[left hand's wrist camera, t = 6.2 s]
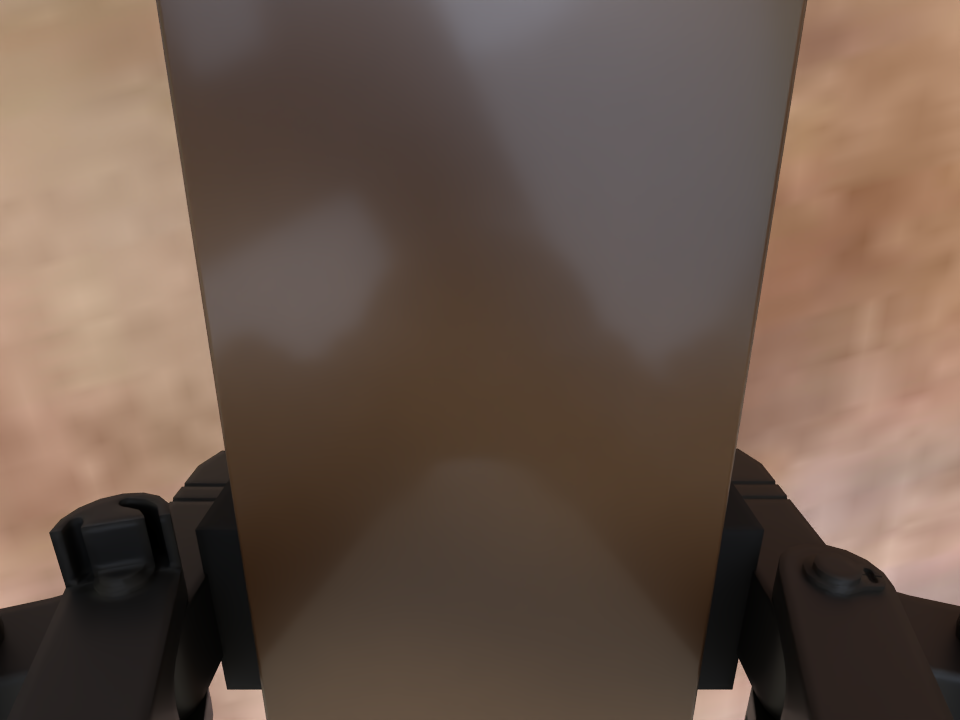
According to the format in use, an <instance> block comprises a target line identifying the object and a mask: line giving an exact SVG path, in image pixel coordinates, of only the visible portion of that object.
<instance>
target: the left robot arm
mask: <svg viewBox="0 0 960 720" xmlns="http://www.w3.org/2000/svg"><path fill="white" fill-rule="evenodd" d="M49 533H50V537H51V540H52V543H53V546H54V550H55V553H56V556H57V560H58V563H59V566H60V569H61V573H62V576H63V579H64V582H65V586H66V589H65V591H64V593H63V595H60V596H57V597H53V598H49V599H45V600H40V601H35V602H31V603H26V604H21V605H17V606H12V607H7V608H3V609H0V720H213V709H212V702H211V697H210V693H209V685H210V683H211V681H212V679H213V677H214V675H215V673H216V671H217V668H218V666H219V664H220V662H221V661H222V666H223V671H224V676H225V681H226V686H227V689H262V687H261V680H260V674H259V667H258V661H257V654H256V648H255V641H254V635H253V628H252V622H251V615H250V609H249V602H248V596H247V589H246V583H245V576H244V570H243V563H242V557H241V550H240V544H239V537H238V531H237V524H236V518H235V511H234V504H233V498H232V491H231V485H230V478H229V472H228V465H227V459H226V452H225V451H221V452H219V453H218V454H216V455H214V456H213V457H211V458H210V459H208V460H207V461H205V462H204V463H202V464H201V465H199V466H198V467H197V468H196V470H195V471H194V472H193V473H192V475H191V476H190V477H189V478H188V480H187V481H186V482H185V486H184V487H181V489H180V490H179V491H178V492H177V494H176V495H175V496H174V497H173V502H170V503H168V502H166V501H165V500H164V499H162V498H161V497H160V496H157V495H152V494H147V493H127V494H119V495H115V496H111V497H107V498H102V499H99V500H97V501H94V502H92V503H89V504H87V505H84V506H82V507H80V508H78V509H76V510H75V511H73V512H72V513H70V514H69V515H67V516H65V517H64V518H62V519H61V520H60V521H59V522H58V523H57V524H56V525H55V527H54V528H53V529H52V530H51V531H50V532H49ZM738 659H739V660H740V662H741V664H742V666H743V668H744V670H745V672H746V675H747V677H748V679H749V681H750V683H751V685H752V688H751V693H750V697H749V702H748V706H747V711H746V716H745V720H960V606H956V605H952V604H947V603H942V602H938V601H933V600H928V599H923V598H919V597H914V596H909V595H906V594H902V593H899V592H896V590H895V588H894V586H893V585H892V583H891V582H890V581H889V579H888V578H887V577H886V575H885V574H884V573H883V572H882V571H881V570H879V569H878V568H877V567H875V566H874V565H873V564H871V563H870V562H869V561H867V560H866V559H863V558H861V557H859V556H857V555H855V554H853V553H851V552H849V551H847V550H843V549H839V548H836V547H832V546H828V545H826V544H825V543H824V542H823V540H822V539H821V538H820V537H819V535H818V534H817V533H816V532H815V530H814V529H813V528H812V527H811V525H810V524H809V523H808V522H807V520H806V519H805V518H804V517H803V515H802V514H801V513H800V512H799V510H798V509H797V508H796V507H795V505H794V504H793V503H792V502H791V500H790V499H787V495H786V494H785V493H784V491H783V490H782V489H781V488H780V486H779V485H776V484H775V480H774V479H773V478H772V476H771V475H770V474H769V473H768V471H767V470H766V469H765V468H764V466H763V465H762V464H761V463H760V462H758V461H756V460H755V459H753V458H752V457H750V456H749V455H747V454H746V453H744V452H742V451H741V450H739V449H736V451H735V457H734V463H733V470H732V476H731V482H730V489H729V495H728V501H727V507H726V514H725V520H724V526H723V533H722V539H721V545H720V552H719V558H718V564H717V570H716V577H715V583H714V589H713V596H712V602H711V608H710V614H709V621H708V627H707V633H706V640H705V646H704V652H703V658H702V665H701V671H700V677H699V684H698V689H733V684H734V679H735V674H736V669H737V664H738Z"/></svg>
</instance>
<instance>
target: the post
mask: <svg viewBox="0 0 960 720" xmlns="http://www.w3.org/2000/svg"><path fill="white" fill-rule="evenodd" d="M156 3H157V10H158V16H159V23H160V29H161V36H162V42H163V49H164V55H165V62H166V68H167V75H168V81H169V88H170V94H171V101H172V107H173V114H174V120H175V127H176V133H177V140H178V146H179V153H180V159H181V166H182V172H183V179H184V185H185V192H186V198H187V205H188V211H189V218H190V224H191V231H192V238H193V244H194V251H195V257H196V264H197V270H198V277H199V283H200V290H201V296H202V303H203V309H204V316H205V322H206V329H207V335H208V342H209V348H210V355H211V361H212V368H213V374H214V381H215V387H216V394H217V400H218V407H219V413H220V420H221V426H222V433H223V439H224V446H225V452H226V459H227V465H228V472H229V478H230V485H231V491H232V498H233V504H234V511H235V518H236V524H237V531H238V537H239V544H240V550H241V557H242V563H243V570H244V576H245V583H246V589H247V596H248V602H249V609H250V615H251V622H252V628H253V635H254V641H255V648H256V654H257V661H258V667H259V674H260V680H261V687H262V693H263V700H264V706H265V713H266V719H267V720H693V715H694V709H695V702H696V696H697V690H698V684H699V677H700V671H701V665H702V658H703V652H704V646H705V640H706V633H707V627H708V621H709V614H710V608H711V602H712V596H713V589H714V583H715V577H716V570H717V564H718V558H719V552H720V545H721V539H722V533H723V526H724V520H725V514H726V507H727V501H728V495H729V489H730V482H731V476H732V470H733V463H734V457H735V451H736V445H737V438H738V432H739V426H740V419H741V413H742V407H743V401H744V394H745V388H746V382H747V375H748V369H749V363H750V357H751V350H752V344H753V338H754V331H755V325H756V319H757V313H758V306H759V300H760V294H761V287H762V281H763V275H764V269H765V262H766V256H767V250H768V243H769V237H770V231H771V225H772V218H773V212H774V206H775V199H776V193H777V187H778V181H779V174H780V168H781V162H782V155H783V149H784V143H785V137H786V130H787V124H788V118H789V111H790V105H791V99H792V93H793V86H794V80H795V74H796V67H797V61H798V55H799V49H800V42H801V36H802V30H803V23H804V17H805V11H806V4H807V0H156Z"/></svg>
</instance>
